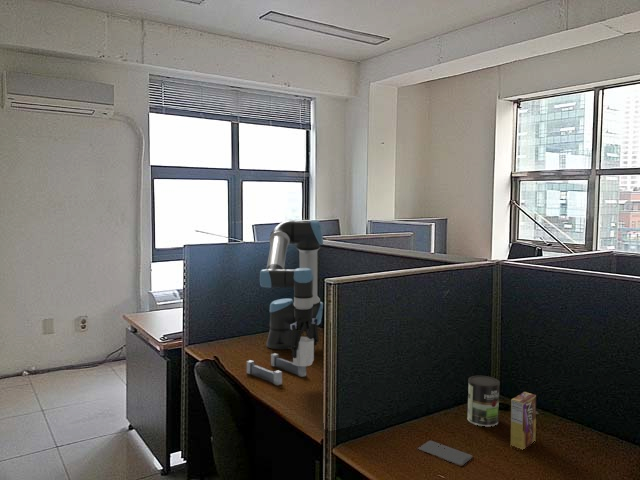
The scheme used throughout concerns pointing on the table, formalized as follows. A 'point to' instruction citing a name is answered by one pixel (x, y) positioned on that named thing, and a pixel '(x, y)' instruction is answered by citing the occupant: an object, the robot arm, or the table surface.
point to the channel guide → (276, 375)
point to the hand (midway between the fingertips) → (303, 362)
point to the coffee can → (483, 400)
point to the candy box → (523, 420)
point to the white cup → (306, 351)
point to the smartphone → (446, 452)
